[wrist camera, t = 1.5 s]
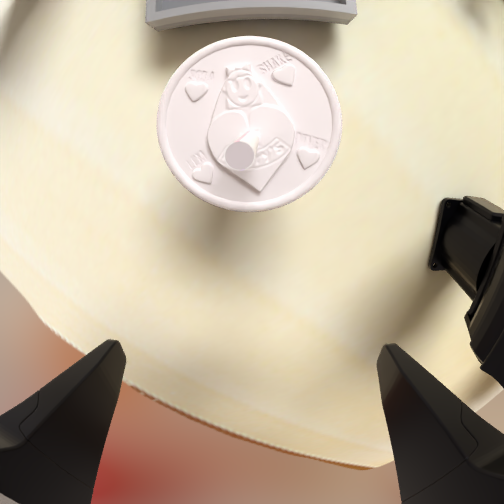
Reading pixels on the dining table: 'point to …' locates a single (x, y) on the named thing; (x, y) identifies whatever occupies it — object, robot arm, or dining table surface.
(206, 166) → the smoothie
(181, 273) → the dining table surface
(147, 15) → the grey tray
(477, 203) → the robot arm
